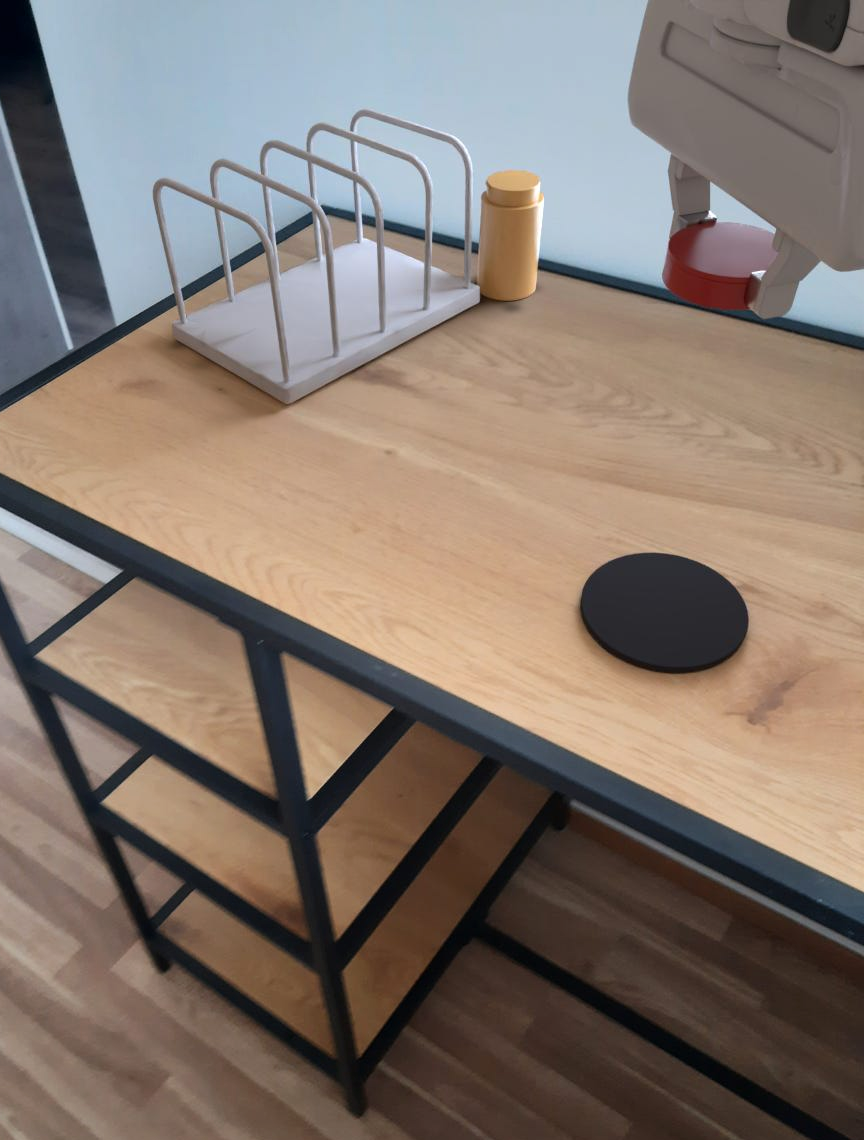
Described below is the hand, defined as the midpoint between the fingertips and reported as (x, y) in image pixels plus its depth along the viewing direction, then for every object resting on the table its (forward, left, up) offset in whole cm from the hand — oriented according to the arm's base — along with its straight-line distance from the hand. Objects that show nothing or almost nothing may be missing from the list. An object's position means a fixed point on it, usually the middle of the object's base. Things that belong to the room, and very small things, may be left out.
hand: (725, 278), depth 49 cm
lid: (0, 0, +1) cm, 1 cm away
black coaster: (0, +2, -22) cm, 23 cm away
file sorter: (+11, -44, -23) cm, 51 cm away
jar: (-8, -45, -22) cm, 51 cm away
